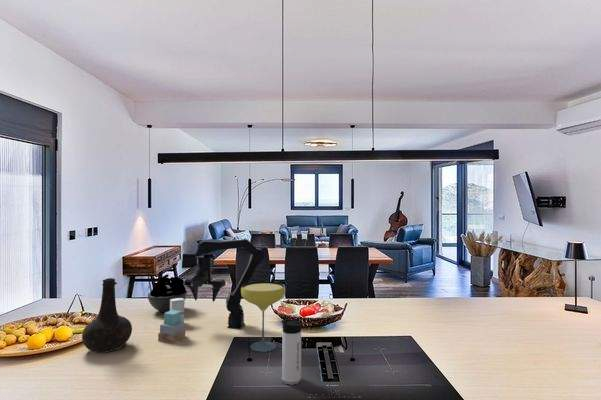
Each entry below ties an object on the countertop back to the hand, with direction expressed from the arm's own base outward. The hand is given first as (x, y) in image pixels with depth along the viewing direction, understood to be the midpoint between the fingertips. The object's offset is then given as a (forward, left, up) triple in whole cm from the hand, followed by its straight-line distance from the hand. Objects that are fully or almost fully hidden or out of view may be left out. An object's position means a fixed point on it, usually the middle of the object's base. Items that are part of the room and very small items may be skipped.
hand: (204, 300), depth 171 cm
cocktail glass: (-34, +13, -13) cm, 39 cm away
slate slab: (+7, +15, -10) cm, 19 cm away
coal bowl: (+33, -19, -13) cm, 40 cm away
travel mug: (-53, +37, -13) cm, 66 cm away
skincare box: (+16, -2, -13) cm, 21 cm away
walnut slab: (+7, +15, -13) cm, 21 cm away
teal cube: (+8, +14, -6) cm, 17 cm away
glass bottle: (+26, +31, -13) cm, 43 cm away
